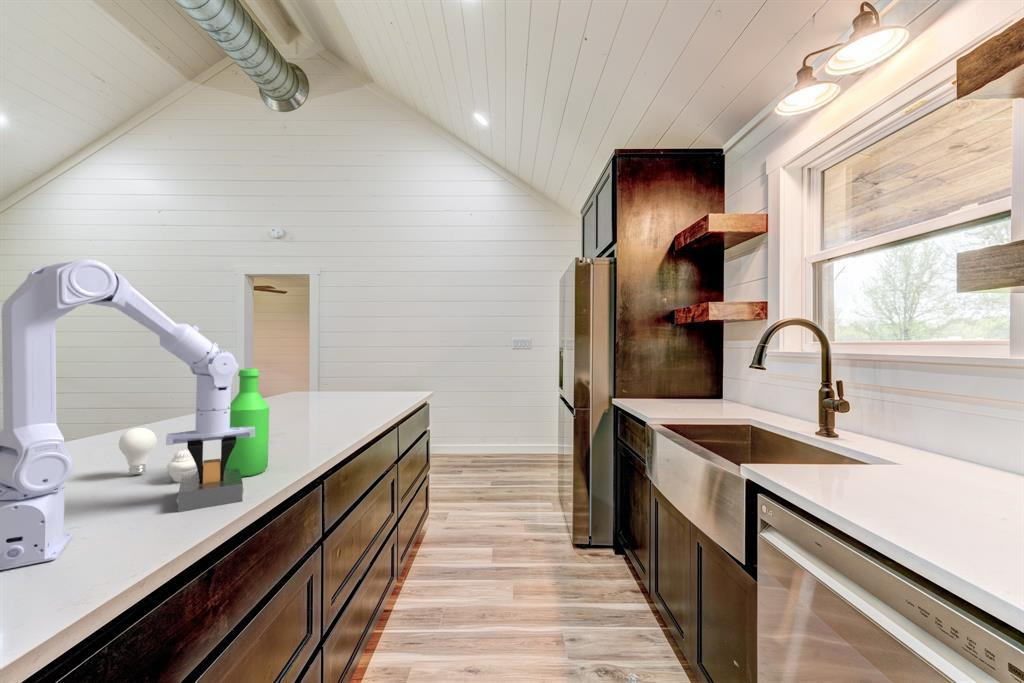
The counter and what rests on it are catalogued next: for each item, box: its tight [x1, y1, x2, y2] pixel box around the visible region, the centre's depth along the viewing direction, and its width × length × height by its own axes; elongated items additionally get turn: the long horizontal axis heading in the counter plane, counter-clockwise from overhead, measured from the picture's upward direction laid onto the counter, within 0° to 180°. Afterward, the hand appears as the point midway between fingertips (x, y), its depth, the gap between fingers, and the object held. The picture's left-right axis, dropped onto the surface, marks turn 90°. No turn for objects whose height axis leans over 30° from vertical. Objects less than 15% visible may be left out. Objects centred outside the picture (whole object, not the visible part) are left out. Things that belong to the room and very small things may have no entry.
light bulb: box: [118, 427, 157, 476], centre depth 98 cm, size 7×7×11 cm
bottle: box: [225, 368, 270, 478], centre depth 102 cm, size 9×9×25 cm
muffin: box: [166, 448, 198, 483], centre depth 95 cm, size 6×6×7 cm
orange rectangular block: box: [203, 458, 221, 483], centre depth 85 cm, size 3×3×6 cm
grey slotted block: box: [176, 469, 244, 513], centre depth 87 cm, size 17×11×4 cm, turn 36°
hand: (211, 476), depth 85 cm, fingers closed on orange rectangular block, 3 cm apart
